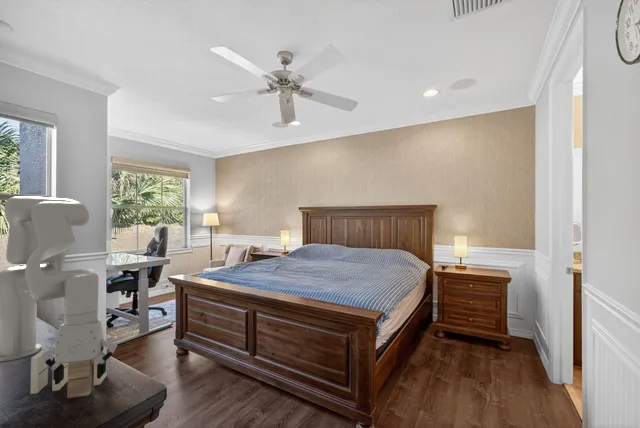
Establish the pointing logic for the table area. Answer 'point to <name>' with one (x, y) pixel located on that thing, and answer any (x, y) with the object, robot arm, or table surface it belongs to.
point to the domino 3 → (79, 378)
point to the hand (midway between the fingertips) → (80, 379)
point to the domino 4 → (96, 380)
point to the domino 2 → (62, 383)
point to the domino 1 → (38, 373)
